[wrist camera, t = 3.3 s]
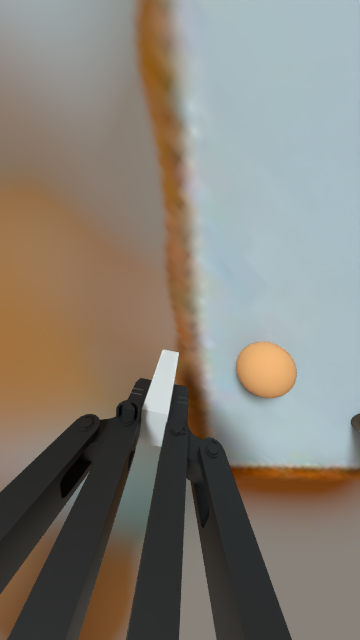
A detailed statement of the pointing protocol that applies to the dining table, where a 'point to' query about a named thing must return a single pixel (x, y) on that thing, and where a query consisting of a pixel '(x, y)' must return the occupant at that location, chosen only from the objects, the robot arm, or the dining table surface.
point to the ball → (266, 369)
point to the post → (356, 422)
